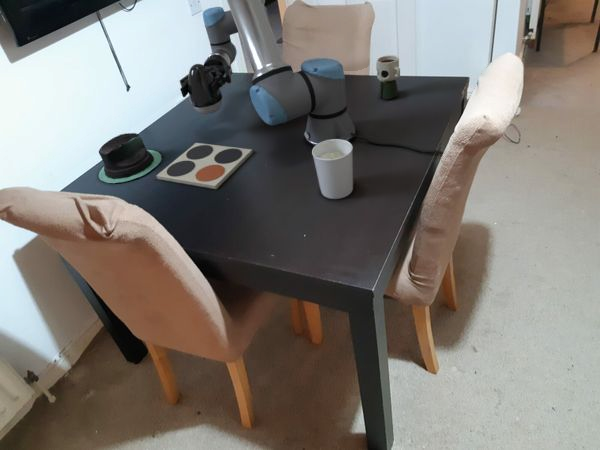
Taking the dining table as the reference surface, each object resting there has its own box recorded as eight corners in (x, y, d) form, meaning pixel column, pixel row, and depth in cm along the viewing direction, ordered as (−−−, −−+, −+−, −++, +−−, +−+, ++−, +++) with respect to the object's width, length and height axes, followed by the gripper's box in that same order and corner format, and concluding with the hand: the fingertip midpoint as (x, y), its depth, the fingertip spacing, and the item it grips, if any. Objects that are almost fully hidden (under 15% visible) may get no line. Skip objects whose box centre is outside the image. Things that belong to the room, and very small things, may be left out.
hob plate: (253, 152, 135) (252, 148, 134) (216, 189, 122) (215, 185, 121) (197, 145, 144) (195, 142, 144) (157, 179, 131) (155, 175, 130)
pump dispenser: (220, 117, 138) (206, 69, 128) (189, 118, 140) (174, 71, 131) (229, 103, 145) (217, 56, 136) (201, 105, 148) (187, 59, 138)
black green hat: (127, 144, 151) (174, 149, 144) (106, 192, 146) (154, 200, 138) (97, 119, 138) (147, 123, 131) (72, 171, 132) (124, 178, 125)
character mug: (370, 96, 154) (368, 59, 146) (385, 89, 156) (384, 52, 148) (391, 104, 146) (391, 66, 138) (407, 97, 149) (407, 58, 141)
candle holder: (332, 175, 118) (327, 135, 111) (363, 185, 113) (360, 143, 105) (310, 194, 113) (303, 154, 106) (341, 205, 107) (336, 163, 100)
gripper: (250, 72, 152) (235, 99, 135) (190, 79, 156) (168, 106, 139) (245, 50, 147) (229, 75, 130) (183, 57, 151) (160, 83, 134)
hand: (198, 91), depth 134 cm, fingers closed on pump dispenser, 9 cm apart
